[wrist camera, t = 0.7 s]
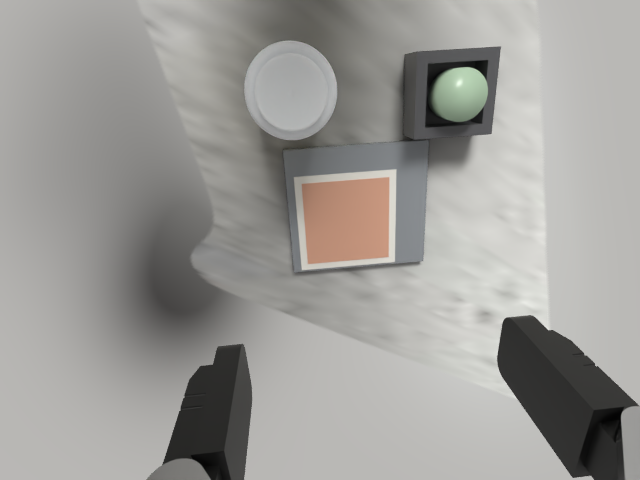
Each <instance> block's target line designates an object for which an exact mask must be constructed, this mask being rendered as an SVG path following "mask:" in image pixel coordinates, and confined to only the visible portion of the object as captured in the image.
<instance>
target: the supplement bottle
mask: <svg viewBox="0 0 640 480" xmlns="http://www.w3.org/2000/svg"><path fill="white" fill-rule="evenodd" d="M244 96H245V101H246V105H247V108H248V110H249V113H250V115H251V116H252V118H253V119H254V121H255V122H256V123H257V124H258V125H259V126H260V127H261V128H262V129H263V130H264V131H266V132H267V133H269V134H270V135H272V136H274V137H277V138H280V139H284V140H300V139H304V138H307V137H310V136H312V135H314V134H315V133H317V132H318V131H319V130H321V129H322V128H323V127H324V126H325V124H326V123H327V122H328V121H329V119H330V118H331V116H332V114H333V111H334V109H335V106H336V101H337V82H336V78H335V74H334V72H333V69H332V67H331V65H330V64H329V62H328V61H327V59H326V58H325V57H324V56H323V55H322V54H321V53H320V52H319V51H318V50H316V49H315V48H313V47H312V46H310V45H308V44H305V43H303V42H299V41H292V40H289V41H280V42H276V43H273V44H271V45H269V46H267V47H266V48H264V49H263V50H262V51H260V52H259V53H258V54H257V55H256V57H255V58H254V59H253V61H252V62H251V64H250V66H249V68H248V70H247V73H246V76H245V82H244Z"/></svg>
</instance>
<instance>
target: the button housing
mask: <svg viewBox="0 0 640 480" xmlns="http://www.w3.org/2000/svg"><path fill="white" fill-rule="evenodd" d="M500 49H501V47H486V48H469V49H453V50H436V51H420V52H414V53H409V54H405V74H404V118H403V135H405V136H407V137H409V138H411V139H414V140H417V139H431V138H444V137H458V136H472V135H486V134H491V133H492V123H493V114H494V105H495V96H496V86H497V77H498V68H499V58H500ZM462 67H470V68H474V69H476V70H478V71H479V72H480V73H481V74H482V75H483V76H484V77H485V79H486V82H487V86H488V96H487V100H486V103H485V105H484V107H483V108H482V110H481V111H480V112H479V113H478V114H477V115H476V116H475V117H473V118H472V119H470V120H467V121H464V122H454V121H450V120H446V119H442V118H440V117H438V116H436V115H435V114H434V113H433V112H432V110H431V108H430V106H429V102H428V92H429V88H430V86H431V84H432V82H433V80H434V79H435V78H436V77H437V76H438V75H439V74H440V73H441V72H443V71H445V70H447V69H451V68H462Z"/></svg>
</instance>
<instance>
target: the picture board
mask: <svg viewBox="0 0 640 480" xmlns="http://www.w3.org/2000/svg"><path fill="white" fill-rule="evenodd" d="M428 150H429V140H427V139H422V140H409V141H395V142H381V143H367V144H353V145H340V146H326V147H312V148H298V149H284V150H283V159H284V169H285V180H286V190H287V201H288V211H289V222H290V233H291V243H292V254H293V264H294V272H306V271H317V270H328V269H339V268H351V267H362V266H373V265H384V264H396V263H407V262H418V261H423V255H424V234H425V213H426V192H427V171H428Z"/></svg>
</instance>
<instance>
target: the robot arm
mask: <svg viewBox="0 0 640 480" xmlns="http://www.w3.org/2000/svg"><path fill="white" fill-rule="evenodd" d="M497 362H498V367H499V371H500V373H501V375H502V377H503V379H504V380H505V382H506V383H507V385H508V386H509V387H510V389H511V390H512V392H513V393H514V395H515V396H516V397H517V399H518V400H519V402H520V403H521V405H522V406H523V407H524V409H525V410H526V412H527V413H528V415H529V416H530V417H531V419H532V420H533V422H534V423H535V425H536V426H537V427H538V429H539V430H540V432H541V433H542V435H543V436H544V437H545V439H546V440H547V442H548V443H549V444H550V446H551V447H552V449H553V450H554V452H555V453H556V455H557V456H558V457H559V459H560V460H561V462H562V463H563V465H564V466H565V467H566V469H567V470H568V472H569V473H570V475H571V476H572V477H573V478H575V477H583V476H592V477H593V479H594V480H640V406H639V405H638V404H637V403H636V402H635V401H634V400H633V399H631V398H630V397H629V396H628V395H627V394H626V393H625V392H624V391H623V390H622V389H621V388H620V387H619V386H618V385H617V384H616V383H615V382H614V381H612V380H611V378H610V377H608V376H607V375H606V374H605V373H604V372H603V371H602V370H601V369H600V368H599V367H598V366H597V367H596V366H595V363H594V362H593V361H592V360H591V359H590V358H588V357H587V356H585V355H584V353H583V352H582V351H581V350H580V349H579V348H578V347H577V346H576V345H575V344H574V343H573V342H572V341H571V340H569V339H567V338H566V337H563V336H562V335H560V334H559V333H557V332H555V331H553V330H549V331H548V330H547V329H546V328H545V327H544V326H543V325H542V324H541V323H540V322H539V321H538V320H537V319H536V318H535V317H534V316H531V315H528V316H519V317H509V318H505V319H504V321H503V324H502V330H501V337H500V343H499V349H498V356H497ZM251 407H252V387H251V380H250V374H249V368H248V363H247V357H246V352H245V347H244V345H243V344H238V345H228V346H219V347H218V348H217V351H216V355H215V359H214V363H213V365H206V366H200V367H199V369H198V370H197V371H196V372H195V374H194V375H193V376H192V377H191V378H190V380H189V383H188V386H187V389H186V392H185V398H184V399H183V401H182V405H181V411H179V414H178V418H177V421H176V424H175V427H174V430H173V433H172V437H171V440H170V443H169V446H168V449H167V453H166V456H165V459H164V462H163V464H162V466H160V467H159V468H158V469H156V470H155V471H154V472H153V473H152V474H151V475H150V476H149V477H148V478H147V480H244V475H245V464H246V455H247V446H248V436H249V426H250V417H251Z"/></svg>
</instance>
